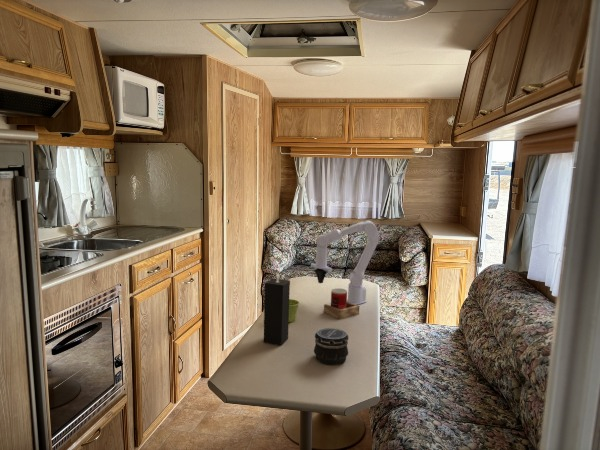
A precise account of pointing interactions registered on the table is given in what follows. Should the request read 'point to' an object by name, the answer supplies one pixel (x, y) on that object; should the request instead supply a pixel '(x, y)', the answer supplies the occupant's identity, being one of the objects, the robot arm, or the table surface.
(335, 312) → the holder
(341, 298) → the canned food
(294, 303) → the plant pot
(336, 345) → the container
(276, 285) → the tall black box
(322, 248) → the robot arm
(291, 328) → the table surface
